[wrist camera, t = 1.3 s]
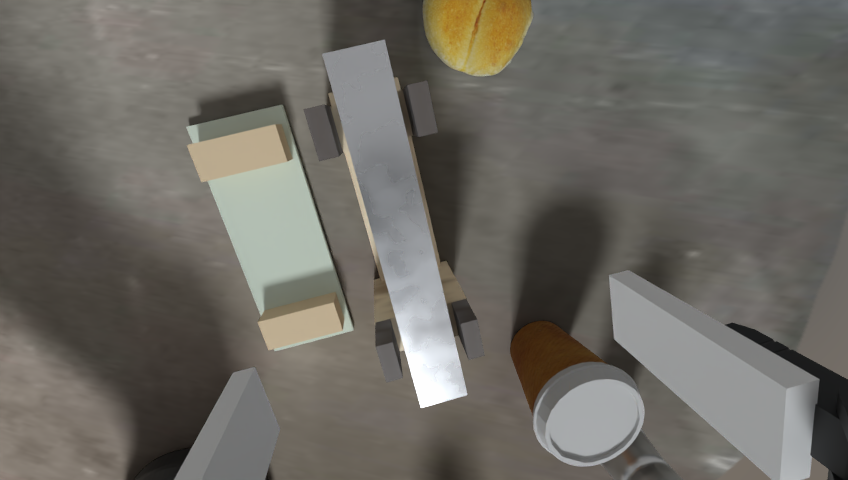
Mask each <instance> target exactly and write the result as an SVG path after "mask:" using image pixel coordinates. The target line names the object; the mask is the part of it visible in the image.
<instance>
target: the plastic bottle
mask: <svg viewBox="0 0 848 480" xmlns="http://www.w3.org/2000/svg"><path fill="white" fill-rule="evenodd" d="M601 465H602V466H603V467H604V468H605V469H606V471H607V472H608V473H609V474H610V476H611V477H612V478H613V479H614V480H683V479H682V478H681V477H680V476H679V475H678V474H677V473H676V472H675V471H674V470H673V469H672V468H671V467H670V466H669V465H668V464H667V462H666V461H665V460H664V459H663V458H662V457H661V455H660V454H659V453H658V451H657V450H656V449H655V447H654V446H653V445H652V443H651V442H650V441H649V439H648V438H647V437H646V435H645V433H644V431H643V429H642V428H641V430H640V432H639V434H638V436H637V437H636V439H635V440H634V441H633V443H632V444H631V445H630V446H629V447H628V448H627V449H626V450H625V451H624V452H622V453H621V454H619V455H618V456H616V457H615V458H613V459H611V460H609V461H607V462H605V463H601Z"/></svg>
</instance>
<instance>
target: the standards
mask: <svg viewBox="0 0 848 480" xmlns="http://www.w3.org/2000/svg"><path fill="white" fill-rule="evenodd" d="M394 81H395V86H396V90H397V94H398V98H399V103H400V107H401V111H402V116H403V120H404V124H405V129H406V133H407V137H408V141H409V146H410V150H411V154H412V159H413V163H414V167H415V172H416V176H417V180H418V184H419V189H420V193H421V197H422V202H423V206H424V210H425V215H426V219H427V223H428V227H429V232H430V236H431V240H432V245H433V249H434V253H435V258H436V262H437V266H438V270H439V275H440V279H441V283H442V288H443V292H444V296H445V301H446V305H447V309H448V313H449V318H450V322H451V326H452V331H453V335H454V337H455V336H458V335H459V337H460V340H461V342H462V345H463V347H464V350H465V352H466V354H467V357H468V359H469V360H470V359H474V358H477V357H481V356H485V355H484V350H483V345H482V340H481V336H480V331H479V326H478V321H477V318H476V316H475V315H474V313H473V311H472V309H471V307H470V305H469V303H468V301H467V298H466V296H465V295H464V293H463V291H462V289H461V287H460V285H459V283H458V282H457V280H456V278H455V276H454V274H453V272H452V270H451V269H450V267H449V265H448V263H447V261H443V262H440V259H439V254H438V250H437V246H436V241H435V237H434V233H433V228H432V224H431V219H430V215H429V211H428V206H427V202H426V198H425V193H424V189H423V185H422V180H421V176H420V172H419V167H418V163H417V158H416V154H415V150H414V145H413V141H412V137H411V136H412V135H414V136H417V137H421V136H425V135H430V134H434V133H438V130H437V125H436V120H435V116H434V111H433V106H432V101H431V96H430V92H429V87H428V82H427V81H422V82H418V83H414V84H410V85H407V86H406V87H405V88H404V89H403V90H401V89H400V84H399V80H398V77H396V78H394ZM328 95H329V99H330V102H331V107H329V106H327V105H320V106H316V107H312V108H307V109H304V112H305V116H306V119H307V122H308V126H309V129H310V132H311V135H312V139H313V142H314V145H315V149H316V152H317V155H318V159H319V161H322V160H326V159H330V158H335V157H339V156H340V155H341V154H342V153H343V152H345V155H346V159H347V163H348V166H349V170H350V173H351V177H352V180H353V184H354V187H355V191H356V194H357V198H358V201H359V205H360V209H361V212H362V216H363V219H364V223H365V226H366V230H367V233H368V237H369V240H370V244H371V247H372V251H373V255H374V258H375V262H376V265H377V269H378V272H379V276H380V278H378V279H374V313H375V335H376V349H377V353H378V356H379V359H380V363H381V366H382V369H383V372H384V376H385V379H386V382H390V381H394V380H397V379H401V378H403V375H402V367H401V359H400V351H403V350H405V349H404V346H403V342H402V338H401V335H400V331H399V328H398V324H397V320H396V317H395V313H394V310H393V306H392V303H391V299H390V295H389V292H388V288H387V285H386V281H385V277H384V274H383V270H382V267H381V263H380V259H379V256H378V252H377V249H376V245H375V242H374V238H373V234H372V231H371V227H370V224H369V220H368V216H367V213H366V209H365V206H364V202H363V199H362V195H361V191H360V188H359V184H358V181H357V177H356V173H355V170H354V166H353V163H352V159H351V155H350V152H349V148H348V145H347V141H346V138H345V134H344V130H343V127H342V123H341V120H340V116H339V112H338V109H337V105H336V102H335V98H334V95H333V92H332V93H328Z"/></svg>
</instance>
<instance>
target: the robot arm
mask: <svg viewBox="0 0 848 480" xmlns="http://www.w3.org/2000/svg"><path fill="white" fill-rule="evenodd" d="M609 281H610V294H611V306H612V318H613V331H614V340H616V341H617V342H618V343H619V344H620V345H621V346H622V347H623V348H625V349H626V350H627V351H628V352H629V353H630V354H631V355H632V356H634V357H635V358H636V359H637V360H638V361H639V362H640V363H641V364H643V365H644V366H645V367H646V368H647V369H648V370H649V371H650V372H652V373H653V374H654V375H655V376H656V377H657V378H658V379H659V380H661V381H662V382H663V383H664V384H665V385H666V386H667V387H668V388H670V389H671V390H672V391H673V392H674V393H675V394H676V395H677V396H679V397H680V398H681V399H682V400H683V401H684V402H685V403H686V404H688V405H689V406H690V407H691V408H692V409H693V410H694V411H695V412H697V413H698V414H699V415H700V416H701V417H702V418H703V419H704V420H706V421H707V422H708V423H709V424H710V425H711V426H712V427H713V428H715V429H716V430H717V431H718V432H719V433H720V434H721V435H722V436H724V437H725V438H726V439H727V440H728V441H729V442H730V443H731V444H733V445H734V446H735V447H736V448H737V449H738V450H739V451H740V452H742V453H743V454H744V455H745V456H746V457H747V458H748V459H749V460H751V461H752V462H753V463H754V464H755V465H756V466H757V467H758V468H760V469H761V470H762V471H763V472H764V473H765V474H766V475H768V476H769V477H770V478H771V479H772V480H802V479H805V478H809V477H810V469H811V460H812V457H813V458H815V459H816V460H817V461H819V462H820V463H821V464H823V465H824V466H826V467H827V468H828V469H829V472H828V480H848V379H846V378H844V377H842V376H840V375H838V374H836V373H834V372H833V371H831V370H829V369H827V368H825V367H823V366H822V365H820V364H818V363H816V362H814V361H812V360H810V359H809V358H807V357H805V356H803V355H801V354H799V353H797V352H796V351H794V350H789V348H788V347H786V346H784V345H783V344H781V343H779V342H777V341H776V342H774V341H773V339H771V338H770V337H768V336H766V335H764V334H762V333H760V332H758V331H757V330H755V329H751V328H748V327H745V326H742V325H738V324H735V323H730V324H726V325H724V324H722V323H720V322H718V321H717V320H715V319H713V318H711V317H710V316H708V315H706V314H704V313H703V312H701V311H699V310H697V309H696V308H694V307H692V306H690V305H689V304H687V303H685V302H683V301H682V300H680V299H678V298H676V297H675V296H673V295H671V294H669V293H668V292H666V291H664V290H662V289H661V288H659V287H657V286H655V285H654V284H652V283H650V282H648V281H647V280H645V279H643V278H641V277H640V276H638V275H636V274H634V273H633V272H631V271H629V270H627V271H623V272H619V273H615V274H612V275H609ZM279 431H280V428H279V425H278V423H277V420H276V418H275V415H274V413H273V410H272V408H271V405H270V403H269V400H268V398H267V395H266V393H265V390H264V388H263V386H262V383H261V381H260V378H259V376H258V373H257V371H256V368H255V367H252V368H249V369H245V370H241V371H237V372H233V374H232V375H231V377H230V379H229V381H228V383H227V384H226V386H225V388H224V390H223V392H222V394H221V395H220V397H219V399H218V401H217V403H216V404H215V406H214V408H213V410H212V412H211V413H210V415H209V417H208V419H207V421H206V423H205V424H204V426H203V428H202V430H201V432H200V433H199V435H198V437H197V439H196V441H195V442H194V444H193V446H192V448H190V449H184V450H179V451H175V452H172V453H169V454H166V455H164V456H161V457H159V458H158V459H156V460H154V461H152V462H151V463H150V464H148V465H147V466H146V467H145V468H143V469H142V470H141V472H140V473H139V474H138V475H137V476H136V478H135V479H134V480H268V479H267V477H266V475H267V472H268V468H269V465H270V462H271V458H272V455H273V451H274V448H275V445H276V441H277V438H278V435H279Z"/></svg>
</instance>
